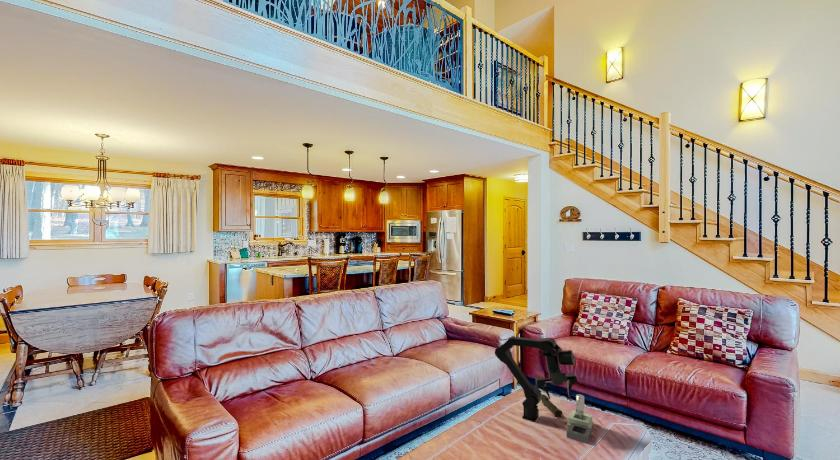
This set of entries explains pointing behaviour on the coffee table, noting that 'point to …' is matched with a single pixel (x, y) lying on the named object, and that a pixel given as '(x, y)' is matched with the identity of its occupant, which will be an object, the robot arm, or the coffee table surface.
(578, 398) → the grey cylinder
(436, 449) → the coffee table surface
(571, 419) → the container
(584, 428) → the socket
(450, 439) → the coffee table surface
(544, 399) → the hand tool
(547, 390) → the robot arm
